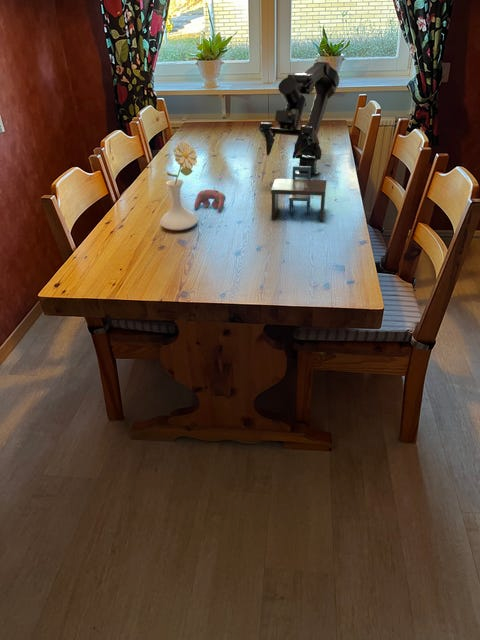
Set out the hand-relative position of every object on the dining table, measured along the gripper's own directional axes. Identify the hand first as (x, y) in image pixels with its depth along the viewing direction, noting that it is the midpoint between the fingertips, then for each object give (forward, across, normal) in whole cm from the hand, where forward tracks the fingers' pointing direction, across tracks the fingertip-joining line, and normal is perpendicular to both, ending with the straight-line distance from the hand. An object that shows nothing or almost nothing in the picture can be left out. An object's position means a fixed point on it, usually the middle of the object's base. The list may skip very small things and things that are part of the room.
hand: (280, 156), depth 162 cm
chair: (+15, +10, +4) cm, 19 cm away
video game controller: (+22, -17, -4) cm, 28 cm away
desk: (+18, +12, 0) cm, 22 cm away
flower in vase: (+33, -18, -16) cm, 41 cm away
